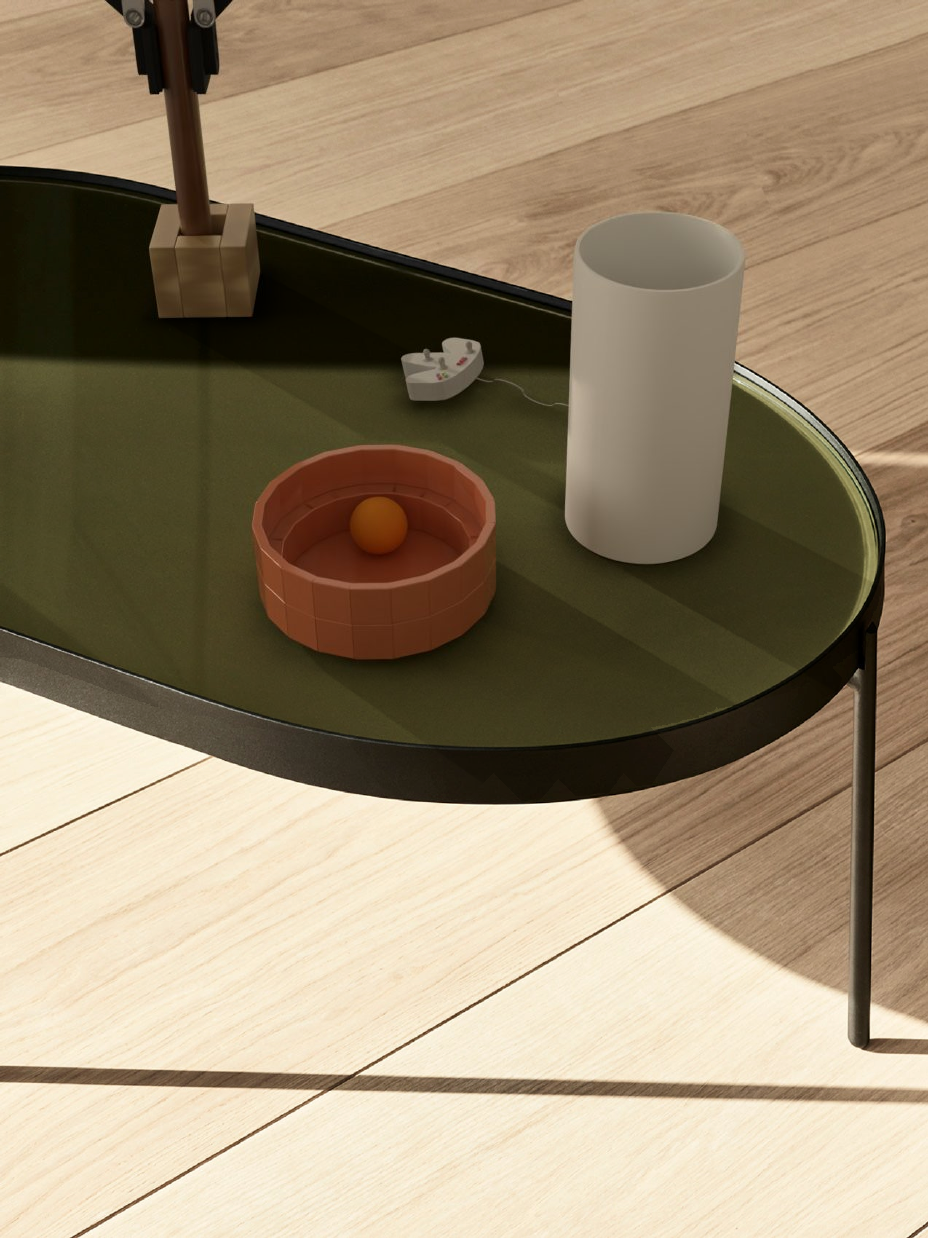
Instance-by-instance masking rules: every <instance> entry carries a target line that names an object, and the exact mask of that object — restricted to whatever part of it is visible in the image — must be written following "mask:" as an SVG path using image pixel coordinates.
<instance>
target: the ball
mask: <svg viewBox="0 0 928 1238" xmlns="http://www.w3.org/2000/svg"><path fill="white" fill-rule="evenodd" d="M407 529H408V523H407V518H406V515H405V513H404V511H403V509H402V508H401V507H400V505H398V504H397V503H396V502H395V501H393V500H391V499H389V498H386V497H371V498H368V499H366V500H364V501H363V502H361V503H360V504H359V505H358V506H357V507H356V508H355V510H354V511H353V513H352V516H351V520H350V531H351V535H352V537H353V539H354V541H355V543H356V544H357V545H358V546H359V547H360V548H361V549H363V550H364V551H366V552H368V553H372V554H386V553H389V552H392V551H393V550H395V549H396V548H398V547H399V546H400V545H401V543H402V542H403V540H404V539H405V536H406V534H407Z"/></svg>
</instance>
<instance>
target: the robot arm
mask: <svg viewBox="0 0 928 1238" xmlns="http://www.w3.org/2000/svg"><path fill="white" fill-rule="evenodd" d="M104 1H105V2H106V3H107V4H108V5H109V6H111V7H112V8H113V9H114V10H115V11H116V12H117V13H119V15H121V16H122V18H123V21H124V23H125V24H126V25H127V26H128V27H130V28H131V31H132V39H133V46H134V54H135V64H136V71H137V74H138V75H139V76H147V84H148V85H147V86H148V93H149V95H151V96H152V95H153V96H154V95H160V93H164V89H163V88H164V87H163V79H162V71H161V62H160V54H159V46H158V37H157V29H156V23H155V15H154V7H153V1H152V0H104ZM233 1H234V0H192V9H191V12H190V14H189V16H190V25H189V26H188V29H187V37H188V47H189V56H190V65H191V75H192V84H193V91H194V92H197V94H198V95H207V91H208V88H209V85H210V82H211V76H219V74H220V54H219V43H218V33H217V32H218V31H217V19H219V17H220V15H221V14H222V13H223V12H224V11H226V9H227V8H228V7H229V5H230V4H231V3H232V2H233Z"/></svg>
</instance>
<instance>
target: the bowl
mask: <svg viewBox="0 0 928 1238" xmlns="http://www.w3.org/2000/svg"><path fill="white" fill-rule="evenodd" d="M371 497H386V498H389V499H391V500H393V501H395V502H396V503H397V504H398V505H400V507H401V508H402V509H403V511H404V513H405V515H406V518H407V523H408V529H407V534H406V536H405V539H404V540H403V542H402V543H401V545H400V546H399V547H398V548H396V549H395V550H393V551H392V552H389V553H386V554H372V553H368V552H366V551H364V550H363V549H361V548H360V547H359V546H358V545H357V544H356V543H355V541H354V539H353V537H352V535H351V531H350V520H351V516H352V513H353V511H354V510H355V508H356V507H357V506H358V505H359V504H360V503H361V502H363V501H364V500H366V499H368V498H371ZM496 510H497V509H496V500H495V498H494V496H493V495H492V493H491V491H490V489H489V488H488V485H486V483H485V480H484V479H483V478H481V477H480V476H479V475H478V474H476V473H475V472H474V471H472V470H471V469H470V468H469V467H467V466H466V465H465V464H463V463H462V462H461V461H458V460H456V459H453V458H451V457H448V456H446V455H443V454H441V453H438V452H436V451H434V450H430V449H424V448H419V447H413V446H409V445H408V446H407V445H401V444H357V445H352V446H348V447H343V448H338V449H332V450H329V451H328V450H327V451H323V452H321V453H319V454H316V455H314V456H311V457H308V458H306V459H305V460H301V461H299V462H296V463H294V464H292V465H291V466H290V467H288V468H287V469H286V470H284V471H283V472H282V473H281V474H279V475H278V476H276V477H275V478H273V479H272V480H271V481H270V482H269V483H268V484H267V486H266V487H265V489H264V490H263V492H262V493H261V495H260V496H259V497H258V499H257V500H256V502H255V503H254V508H253V516H252V522H251V531H252V538H253V539H252V540H253V549H254V556H255V557H254V558H255V563H256V564H255V565H256V566H255V567H256V575H257V584H258V589H259V590H258V591H259V596H260V597H259V598H260V599H261V602H262V605H263V607H264V609H265V612H266V615H267V617H268V618H269V620H271V622H272V623H273V624H274V625H276V627H277V628H279V630H280V631H282V633H283V634H285V635H286V636H287V638H289V639H291V640H293V641H296V642H297V643H299V644H301V645H303V646H305V647H307V648H310V649H312V650H314V651H315V652H319V653H323V654H328V655H333V656H338V657H343V658H347V659H351V660H394V659H399V658H403V657H409V656H412V655H416V654H421V653H425V652H430V651H433V650H434V649H435V650H436V649H437V648H439V647H441V646H443V645H445V644H447V643H449V642H452V641H453V640H455V639H458V638H460V637H461V636H463V635H464V634H465V633H466V632H467V631H468V630H470V629H471V628H472V627H473V626H474V625H475V624H476V623H477V622H478V621H479V620H480V619H482V617H483V616H484V615H486V614H487V613H486V612H487V611H488V608H489V607H490V604H491V602H492V600H493V599H494V596H495V594H496V591H497V516H496V515H497V514H496V513H497V512H496Z"/></svg>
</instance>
